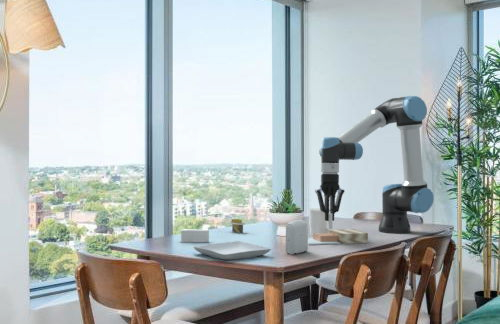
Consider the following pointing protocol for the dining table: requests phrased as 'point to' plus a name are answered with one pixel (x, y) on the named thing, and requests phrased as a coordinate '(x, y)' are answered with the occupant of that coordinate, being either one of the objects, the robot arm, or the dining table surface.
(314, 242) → the rubber mat
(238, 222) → the brown and yellow container
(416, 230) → the dining table surface
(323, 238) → the terracotta tile
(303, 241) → the white upright block
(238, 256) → the salad plate
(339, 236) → the birch board
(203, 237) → the napkin holder
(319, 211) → the candle holder
